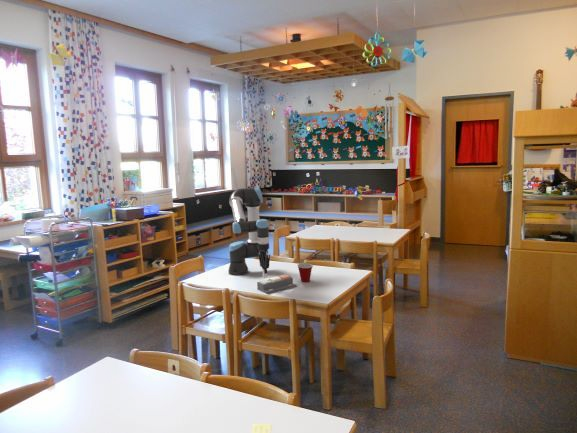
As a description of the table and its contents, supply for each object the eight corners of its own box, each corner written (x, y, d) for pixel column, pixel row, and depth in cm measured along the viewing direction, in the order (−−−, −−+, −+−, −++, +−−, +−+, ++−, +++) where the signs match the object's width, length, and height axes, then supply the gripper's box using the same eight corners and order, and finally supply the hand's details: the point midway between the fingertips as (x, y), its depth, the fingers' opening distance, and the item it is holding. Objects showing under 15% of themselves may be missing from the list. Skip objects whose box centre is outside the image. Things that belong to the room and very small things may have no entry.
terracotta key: (278, 280, 299) (278, 275, 298) (285, 278, 302) (285, 274, 302) (283, 282, 294) (282, 277, 293) (290, 280, 297) (290, 276, 297)
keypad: (257, 289, 292) (257, 282, 291) (286, 282, 304) (286, 275, 303) (267, 294, 281) (266, 286, 281) (296, 286, 294) (296, 279, 293)
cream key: (269, 282, 295) (268, 278, 295) (276, 280, 298) (276, 276, 298) (273, 284, 290) (273, 279, 290) (281, 282, 293) (281, 278, 293)
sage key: (259, 285, 291) (259, 281, 291) (267, 284, 294) (267, 279, 294) (264, 288, 286) (263, 283, 286) (271, 286, 289) (271, 281, 289)
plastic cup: (310, 284, 297) (309, 267, 295) (295, 283, 302) (294, 266, 300) (315, 280, 307) (315, 263, 305) (301, 278, 312) (301, 262, 310)
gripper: (253, 242, 289) (255, 276, 293) (263, 245, 279) (265, 281, 282) (263, 240, 293) (265, 274, 297) (273, 243, 283) (275, 279, 286)
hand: (265, 277), depth 290 cm, fingers closed
